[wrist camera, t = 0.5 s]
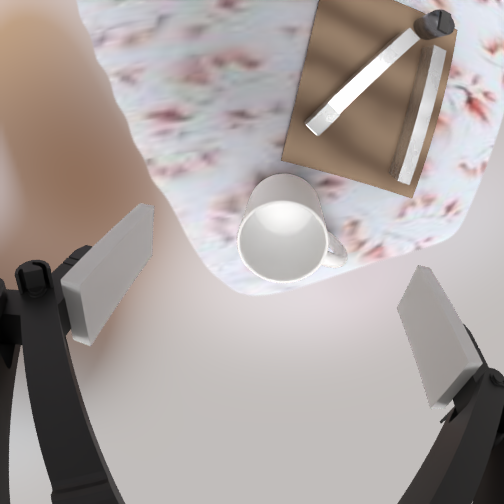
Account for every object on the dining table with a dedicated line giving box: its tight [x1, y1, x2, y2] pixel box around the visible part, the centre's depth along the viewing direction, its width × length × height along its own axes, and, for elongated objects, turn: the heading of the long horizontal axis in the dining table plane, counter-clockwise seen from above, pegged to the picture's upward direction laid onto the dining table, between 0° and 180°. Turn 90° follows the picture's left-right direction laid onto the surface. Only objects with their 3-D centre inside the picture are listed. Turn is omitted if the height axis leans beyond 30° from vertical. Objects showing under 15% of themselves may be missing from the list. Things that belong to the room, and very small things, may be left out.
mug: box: [237, 173, 347, 283], centre depth 34 cm, size 12×8×10 cm
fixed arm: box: [389, 10, 455, 185], centre depth 26 cm, size 19×3×5 cm, turn 168°
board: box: [281, 0, 457, 198], centre depth 30 cm, size 22×16×1 cm
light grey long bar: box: [304, 28, 420, 136], centre depth 27 cm, size 16×2×4 cm, turn 138°
